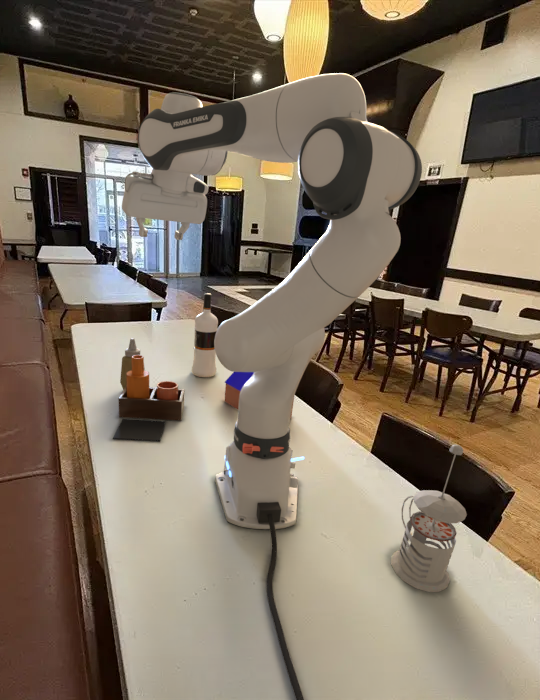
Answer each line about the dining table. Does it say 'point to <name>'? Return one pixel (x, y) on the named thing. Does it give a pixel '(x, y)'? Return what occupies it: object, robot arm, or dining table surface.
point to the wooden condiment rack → (151, 406)
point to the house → (237, 387)
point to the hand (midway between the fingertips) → (160, 237)
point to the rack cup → (167, 390)
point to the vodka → (205, 341)
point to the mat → (139, 430)
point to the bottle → (138, 379)
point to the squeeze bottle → (128, 361)
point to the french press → (435, 523)
